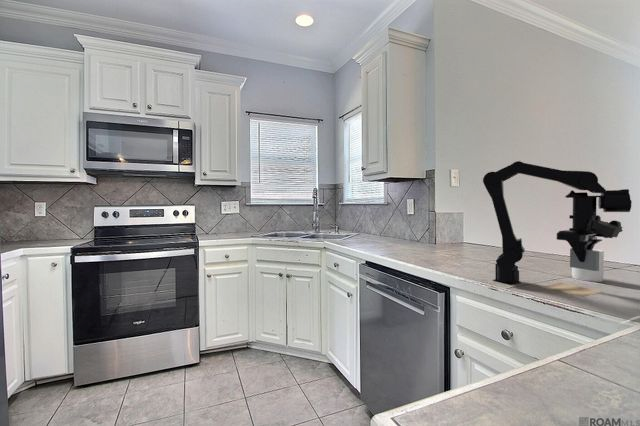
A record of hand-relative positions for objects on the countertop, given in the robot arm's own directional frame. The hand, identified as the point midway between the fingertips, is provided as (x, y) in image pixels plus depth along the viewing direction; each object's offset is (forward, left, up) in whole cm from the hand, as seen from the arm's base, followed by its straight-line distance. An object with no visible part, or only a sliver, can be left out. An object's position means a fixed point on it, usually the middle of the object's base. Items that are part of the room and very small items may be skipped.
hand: (583, 261), depth 100 cm
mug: (-8, +18, -10) cm, 22 cm away
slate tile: (0, 0, -2) cm, 2 cm away
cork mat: (-2, -3, -9) cm, 10 cm away
